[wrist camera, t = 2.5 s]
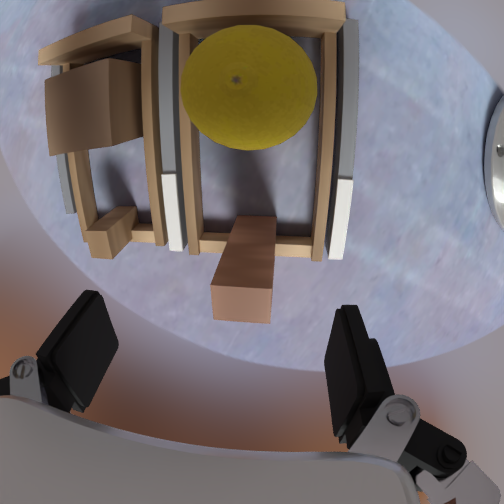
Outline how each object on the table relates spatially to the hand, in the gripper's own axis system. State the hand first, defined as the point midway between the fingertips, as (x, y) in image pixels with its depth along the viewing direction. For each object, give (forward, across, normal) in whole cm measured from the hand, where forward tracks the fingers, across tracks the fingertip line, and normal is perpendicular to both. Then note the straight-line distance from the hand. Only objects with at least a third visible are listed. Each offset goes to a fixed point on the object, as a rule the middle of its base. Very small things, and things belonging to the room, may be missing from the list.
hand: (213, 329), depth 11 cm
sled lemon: (+9, -1, -6) cm, 11 cm away
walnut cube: (+9, +8, -9) cm, 15 cm away
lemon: (+9, -1, -9) cm, 13 cm away
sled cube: (+9, +8, -6) cm, 13 cm away
